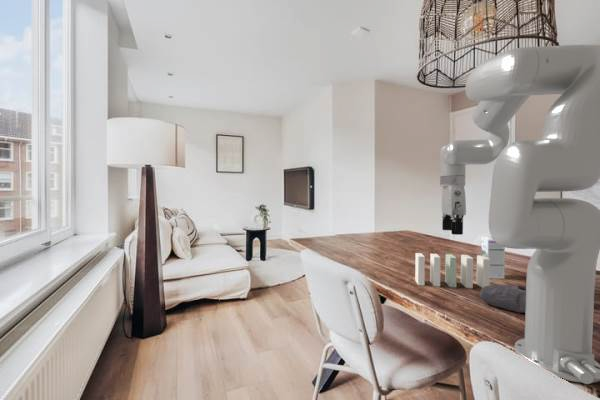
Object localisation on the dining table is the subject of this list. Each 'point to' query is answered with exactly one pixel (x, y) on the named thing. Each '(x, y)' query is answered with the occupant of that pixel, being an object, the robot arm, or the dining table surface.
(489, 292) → the perforated stone tool
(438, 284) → the domino
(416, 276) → the domino
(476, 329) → the dining table surface
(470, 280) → the domino
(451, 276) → the domino
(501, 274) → the syrup box
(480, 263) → the domino
